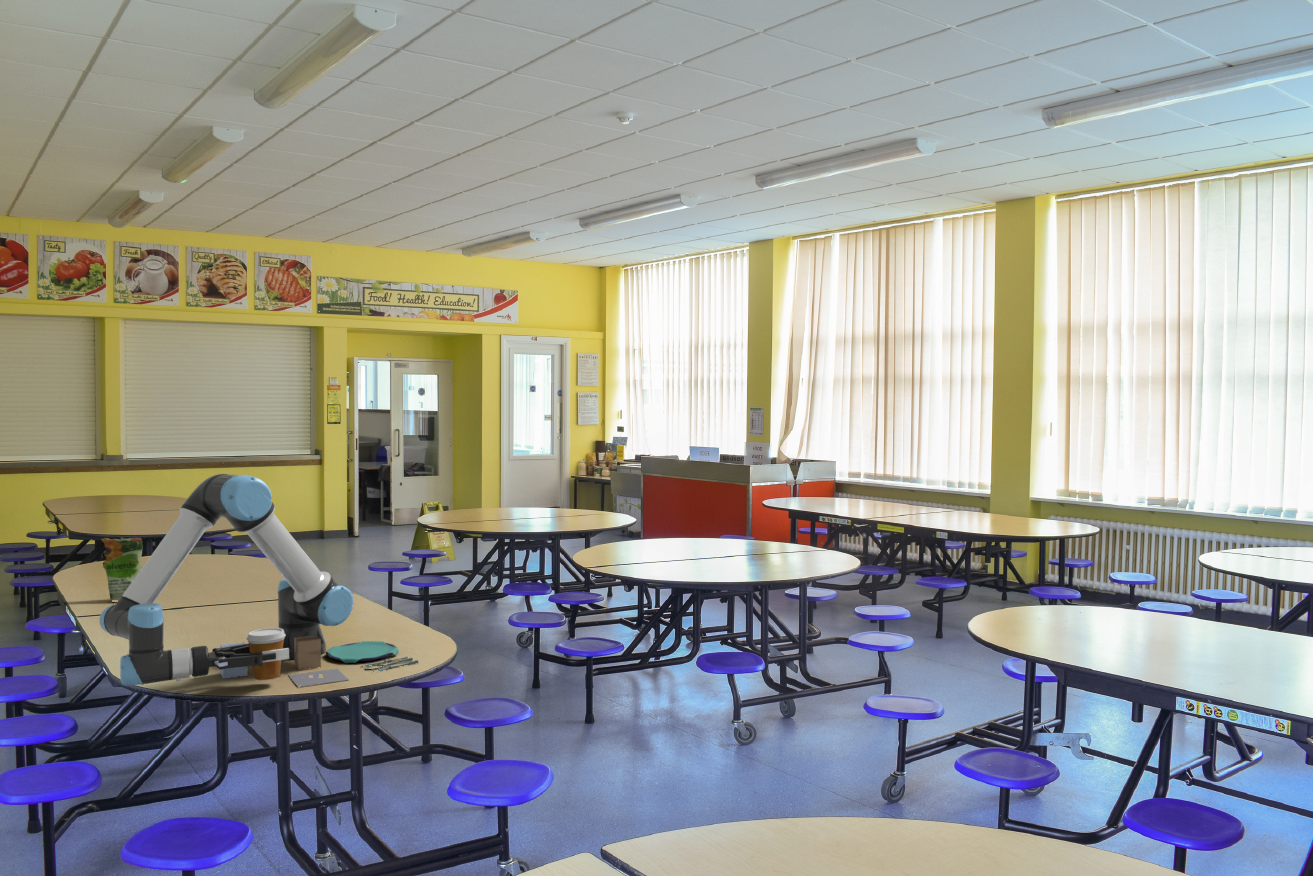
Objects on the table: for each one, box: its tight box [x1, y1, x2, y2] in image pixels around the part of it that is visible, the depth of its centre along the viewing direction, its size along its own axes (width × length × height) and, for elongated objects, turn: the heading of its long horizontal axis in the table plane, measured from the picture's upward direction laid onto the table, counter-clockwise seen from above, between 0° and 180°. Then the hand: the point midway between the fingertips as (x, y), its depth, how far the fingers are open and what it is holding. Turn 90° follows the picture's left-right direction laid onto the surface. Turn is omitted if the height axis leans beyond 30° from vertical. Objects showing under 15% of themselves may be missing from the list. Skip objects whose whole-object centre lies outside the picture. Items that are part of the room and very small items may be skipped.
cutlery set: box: [325, 640, 419, 672], centre depth 269 cm, size 20×30×2 cm, turn 43°
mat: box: [288, 668, 349, 688], centre depth 248 cm, size 13×13×1 cm
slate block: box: [219, 641, 248, 679], centre depth 252 cm, size 6×6×8 cm
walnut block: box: [294, 635, 322, 671], centre depth 260 cm, size 6×6×8 cm
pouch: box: [101, 536, 144, 601], centre depth 352 cm, size 11×12×25 cm
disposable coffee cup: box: [246, 627, 286, 681], centre depth 241 cm, size 10×10×12 cm
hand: (285, 649), depth 244 cm, fingers closed on disposable coffee cup, 8 cm apart
